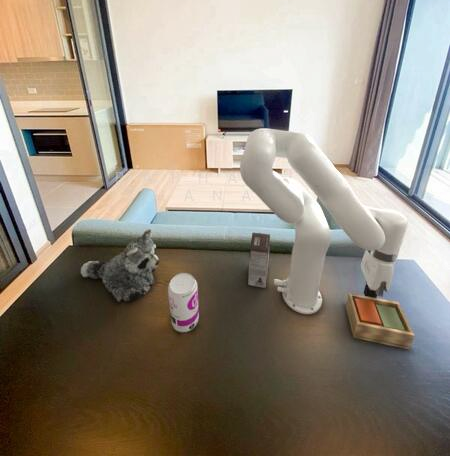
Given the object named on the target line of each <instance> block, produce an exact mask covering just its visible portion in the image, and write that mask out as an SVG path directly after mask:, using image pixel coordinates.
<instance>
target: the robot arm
mask: <svg viewBox="0 0 450 456" xmlns="http://www.w3.org/2000/svg"><path fill="white" fill-rule="evenodd" d="M246 138H247V139H246V142H245V145H244V149H243V154H242V156H241V160H240V164H239V172H240V173H239V174H240V177H241V179H242V181H243V182H244V184H245V185H246V186H247V187H248V188H249V189H250V190H251V191H252V192H253V194H255V195H256V196H257V197H258V198H259V200H260V201H262V202H263V204H264V205H266V206H267V208H268V209H269V210H270V211H271V212H272V213H273V214H274V215H275V216H276V217H277V218H278V219H280V220H281V221H283V222H285V223H287V224H293V227H294V242H293V245H292V250H291V259H290V267H289V273H288V274H289V275H288V276H287V277H286V279H283V280H282V279H281V280H280V279H278V278H274V280H273V285H274V286H276V287H277V292H278V293H279V292H280V293H282V298H283V301H284V302H285V303H286V305H287V306H288V307H289V308H290V309H292V310H293V311H295V312H297V313H299V314H303V315H313V314H316V313H317V312H318V311H319V310H320V309H321V307H322V305H323V298H322V294H321V291H320V285H321V280H322V276H323V270H324V266H325V260H326V256H327V252H328V250H329V248H330V245H331V243H332V233H331V229H330V226H329V223H328V221H327V218H326V217H325V214H324V212H323V209H322V207H321V206H320V204H319V203H318V202H317V201H316V199H315V198H313V197H312V195H311V194H310V193H309V192H308V191H307V190H306V189H305V188H304V187H303V186H302V185H301V184H300V183H299V182H298V181H297V180H295V179H293V178H291V177H286V176H285V177H284V176H283V177H282V176H281V175H280V174H279V173H278V172H276V171H275V170H274V169H273V165H274V163H275V159H276V158H283V159H287V162H288V164H289V165H290V167H291V168H292V169H293V170H294V172H295V173H296V174H297V176H299V177H300V179H301V180H302V181H303V182H304V183H305V184H306V185H307V187H309V189H310V190H311V191H312V192H313V193H314V195H315V196H316V197H317V198H318V199H319V201H320V203H321V204H322V205H323V207H324V208H325V209H326V210H327V211H328V213H329V214H330V215H331V217H332V218H333V219H334V221H335V222H336V223H337V224H338V226H339V227H340V228H341V229H342V231H343V232H344V233H345V235H346V236H347V237H348V238H349V239H350V240H351V241H352V242H353V243H354V244H355V246H357V247H359V248H360V249H362V250H364V253H363V256H362V259H361V263H360V268H361V272H362V274H363V277H364V280H365V285H364V289H363V296H368V297H373V298H378V297H379V298H384V292H385V293H388V291H389V290H390V288H391V285H392V282H393V281H392V280H393V276H394V271H395V270H394V269H395V263H396V262H397V260H398V257H399V254H400V251H401V248H402V245H403V241H404V238H405V235H406V231H407V228H408V225H409V224H408V223H409V222H408V219H407V217H406V216H405V215H404V214H403V213H401V212H399V211H397V210H394V209H390V208H383V209H382V208H381V209H380V208H375V207H371V206H366V205H363V204H362V203H361V202H360V200H359V199H358V197H357V196H356V194H355V193H354V191H353V189H352V188H351V186H350V184H349V183H348V181H346V179H345V177H343V175H342V174H341V173H340V172H339V170H337V168H336V167H335V166H334V165H333V163H332V162H331V161H330V160H329V159H328V157H327V156H326V155H325V153H324V152H323V151H322V150H321V149H320V147H319V146H318V145H317V143H316V142H315V140H314V139H313V138H312V137H311V136H310V135H309V134H306V133H303V132H297V131H289V130H280V129H273V128H256V129H254V130H253V131H252V132H250V133H249V135H248V137H246Z"/></svg>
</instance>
